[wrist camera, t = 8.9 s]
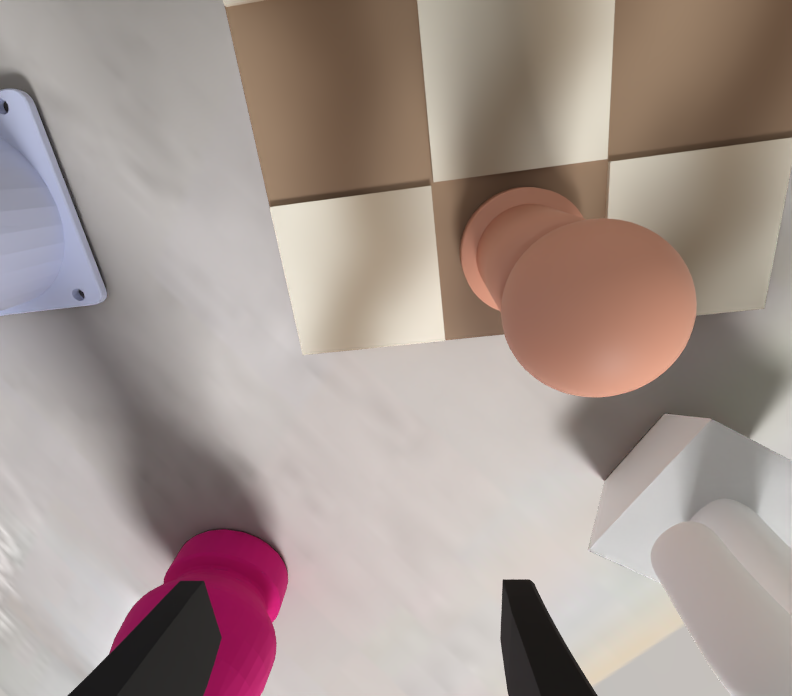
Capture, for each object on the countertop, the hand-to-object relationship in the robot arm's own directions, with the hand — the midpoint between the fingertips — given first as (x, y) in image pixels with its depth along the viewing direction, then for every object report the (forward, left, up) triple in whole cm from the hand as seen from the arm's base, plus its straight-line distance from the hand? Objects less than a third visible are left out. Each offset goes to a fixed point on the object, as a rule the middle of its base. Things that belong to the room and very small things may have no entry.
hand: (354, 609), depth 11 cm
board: (+6, +12, -10) cm, 17 cm away
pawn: (+6, +6, -9) cm, 13 cm away
